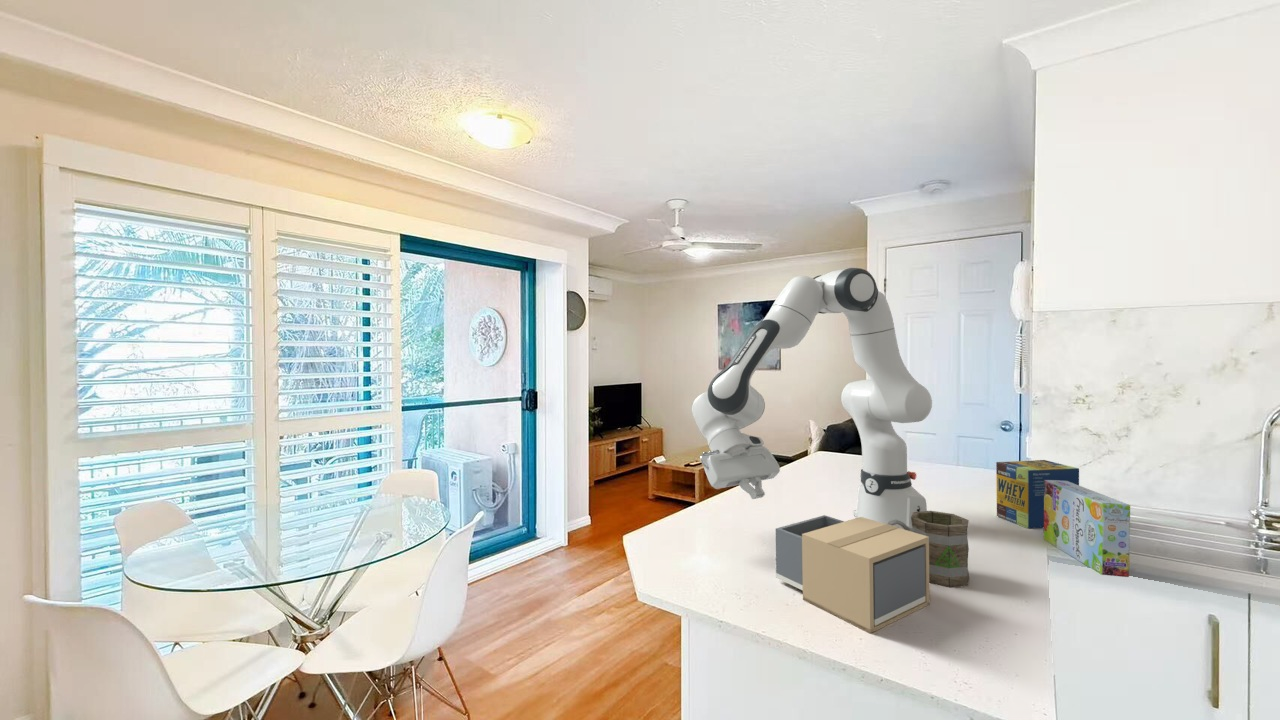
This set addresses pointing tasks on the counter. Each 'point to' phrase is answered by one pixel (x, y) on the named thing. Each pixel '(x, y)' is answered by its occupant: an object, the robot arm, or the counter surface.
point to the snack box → (1088, 526)
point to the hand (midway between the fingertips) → (759, 497)
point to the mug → (943, 546)
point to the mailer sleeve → (854, 567)
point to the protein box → (1027, 489)
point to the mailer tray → (892, 577)
